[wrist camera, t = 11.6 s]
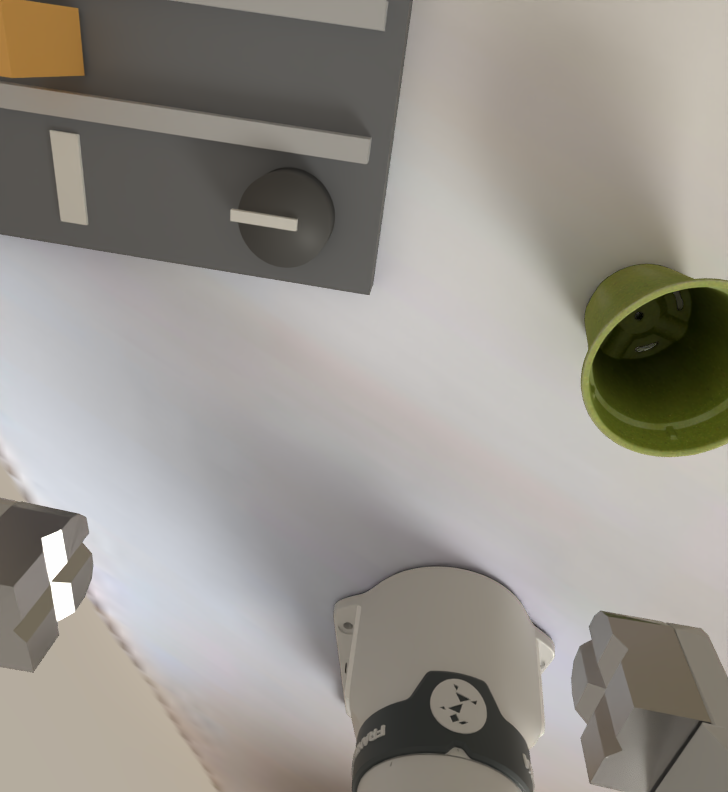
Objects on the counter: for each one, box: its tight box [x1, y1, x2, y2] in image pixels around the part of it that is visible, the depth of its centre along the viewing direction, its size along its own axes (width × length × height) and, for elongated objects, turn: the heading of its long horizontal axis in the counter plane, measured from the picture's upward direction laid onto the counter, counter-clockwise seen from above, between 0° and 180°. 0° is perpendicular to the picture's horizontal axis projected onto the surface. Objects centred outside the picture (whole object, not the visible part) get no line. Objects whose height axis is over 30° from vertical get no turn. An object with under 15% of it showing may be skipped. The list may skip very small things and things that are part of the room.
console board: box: [0, 0, 413, 295], centre depth 31 cm, size 22×28×4 cm
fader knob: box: [0, 0, 85, 78], centre depth 28 cm, size 3×3×6 cm
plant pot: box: [581, 264, 728, 457], centre depth 32 cm, size 9×9×9 cm
